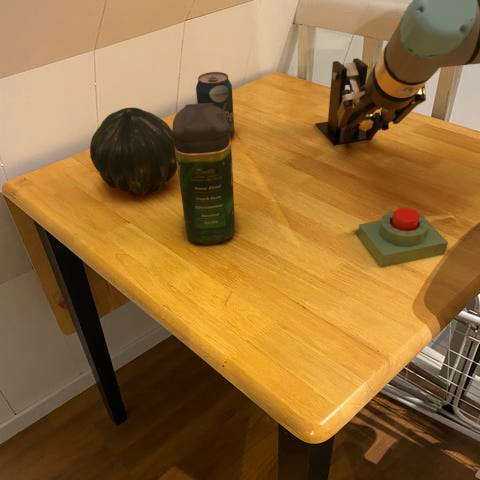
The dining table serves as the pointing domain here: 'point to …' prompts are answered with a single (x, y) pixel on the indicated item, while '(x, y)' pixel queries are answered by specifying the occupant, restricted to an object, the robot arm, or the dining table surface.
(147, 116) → the squash
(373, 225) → the panel
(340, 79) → the switch bracket
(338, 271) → the dining table surface
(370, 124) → the switch lever
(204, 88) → the soda can
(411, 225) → the button
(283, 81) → the dining table surface
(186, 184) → the coffee jar
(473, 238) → the dining table surface
